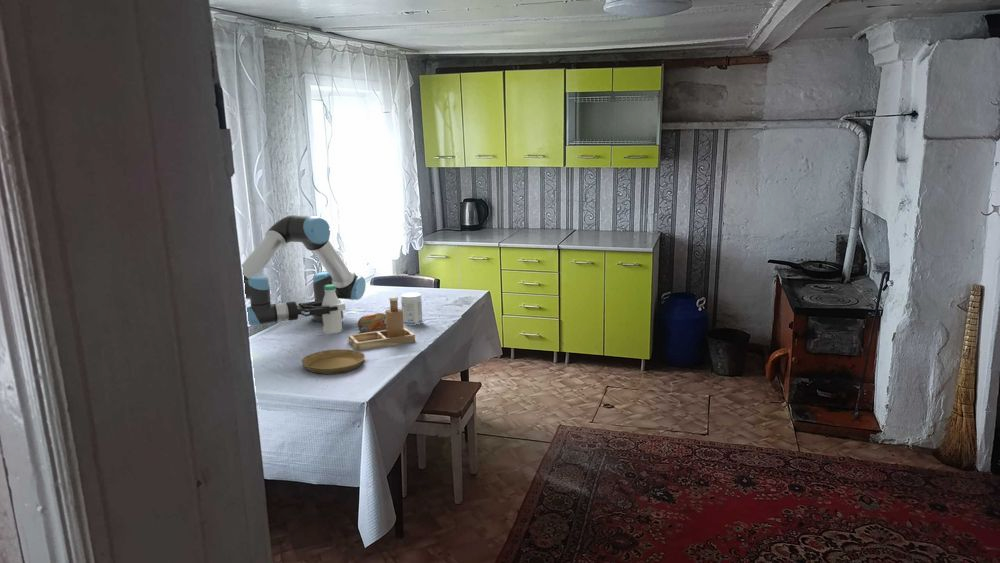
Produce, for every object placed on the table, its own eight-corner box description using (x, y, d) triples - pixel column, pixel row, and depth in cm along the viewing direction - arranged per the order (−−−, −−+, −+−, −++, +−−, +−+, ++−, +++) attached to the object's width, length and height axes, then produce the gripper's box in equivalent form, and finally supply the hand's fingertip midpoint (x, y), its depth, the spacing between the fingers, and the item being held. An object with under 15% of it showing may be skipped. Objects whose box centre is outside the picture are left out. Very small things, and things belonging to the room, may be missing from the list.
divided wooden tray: (348, 344, 291) (348, 335, 290) (405, 335, 302) (404, 327, 301) (357, 352, 279) (356, 343, 278) (415, 343, 290) (414, 334, 289)
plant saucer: (339, 352, 280) (339, 344, 280) (377, 364, 265) (377, 356, 265) (289, 367, 262) (289, 359, 262) (327, 381, 247) (326, 373, 247)
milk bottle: (345, 330, 285) (343, 284, 280) (332, 335, 278) (329, 288, 274) (332, 327, 289) (329, 282, 284) (319, 332, 282) (316, 286, 278)
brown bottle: (384, 338, 295) (382, 296, 291) (401, 336, 298) (399, 294, 294) (389, 343, 288) (387, 300, 284) (406, 340, 291) (404, 298, 287)
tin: (360, 335, 303) (359, 317, 301) (357, 334, 305) (356, 316, 304) (389, 329, 312) (388, 312, 311) (386, 328, 315) (385, 310, 313)
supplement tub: (415, 320, 327) (414, 291, 324) (426, 324, 320) (425, 294, 316) (398, 324, 321) (397, 294, 318) (409, 328, 314) (407, 297, 310)
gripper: (283, 314, 283) (337, 307, 293) (291, 326, 265) (349, 318, 275) (281, 297, 281) (336, 291, 291) (290, 308, 264) (348, 301, 274)
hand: (342, 304), depth 283 cm, fingers closed on milk bottle, 7 cm apart
